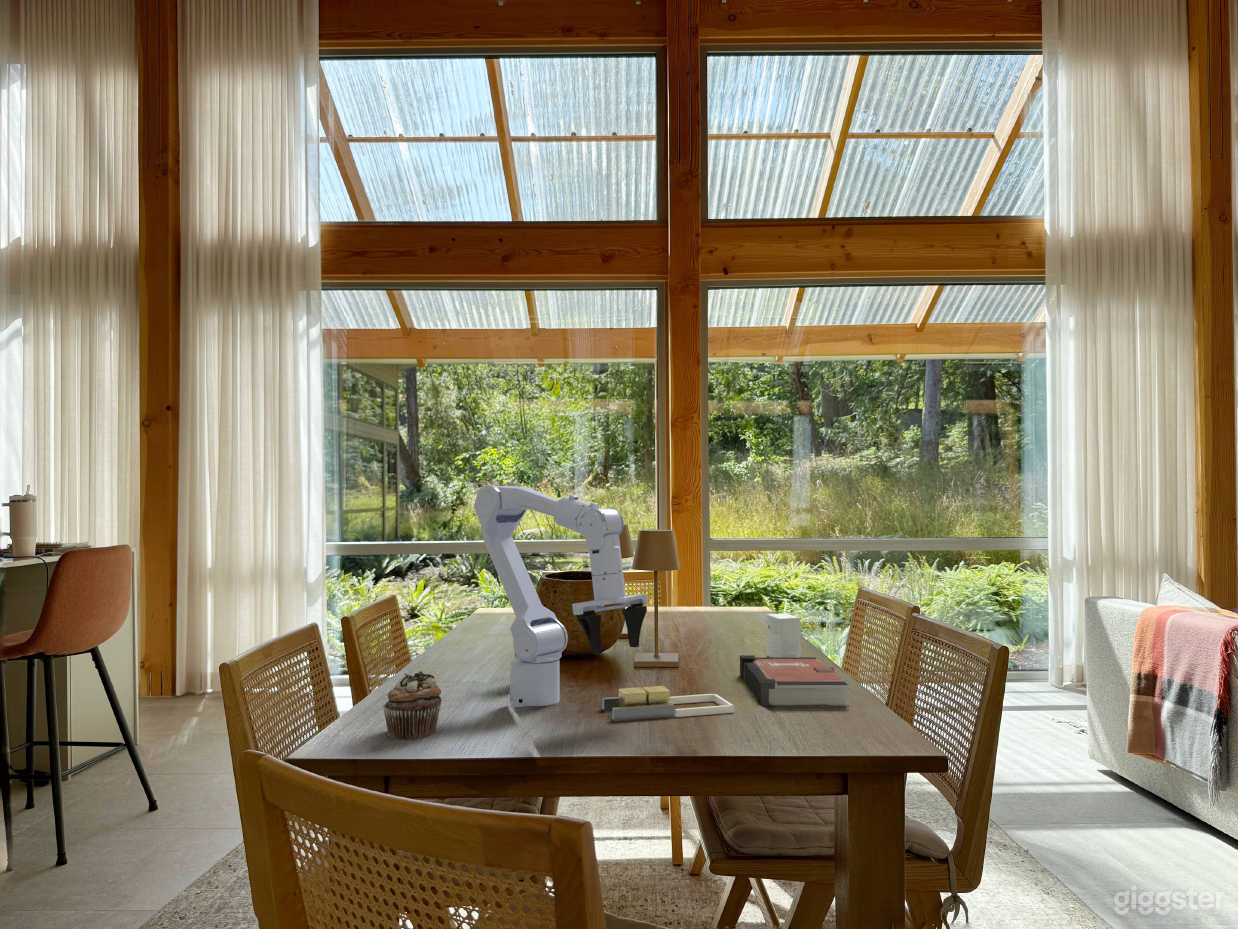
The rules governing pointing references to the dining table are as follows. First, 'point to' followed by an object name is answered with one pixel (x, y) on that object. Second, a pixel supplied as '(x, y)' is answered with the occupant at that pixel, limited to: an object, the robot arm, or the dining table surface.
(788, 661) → the book
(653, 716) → the rail
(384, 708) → the cupcake
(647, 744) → the dining table surface
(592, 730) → the dining table surface
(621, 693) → the brass chip
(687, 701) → the tray
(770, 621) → the small box
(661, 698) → the brass chip
